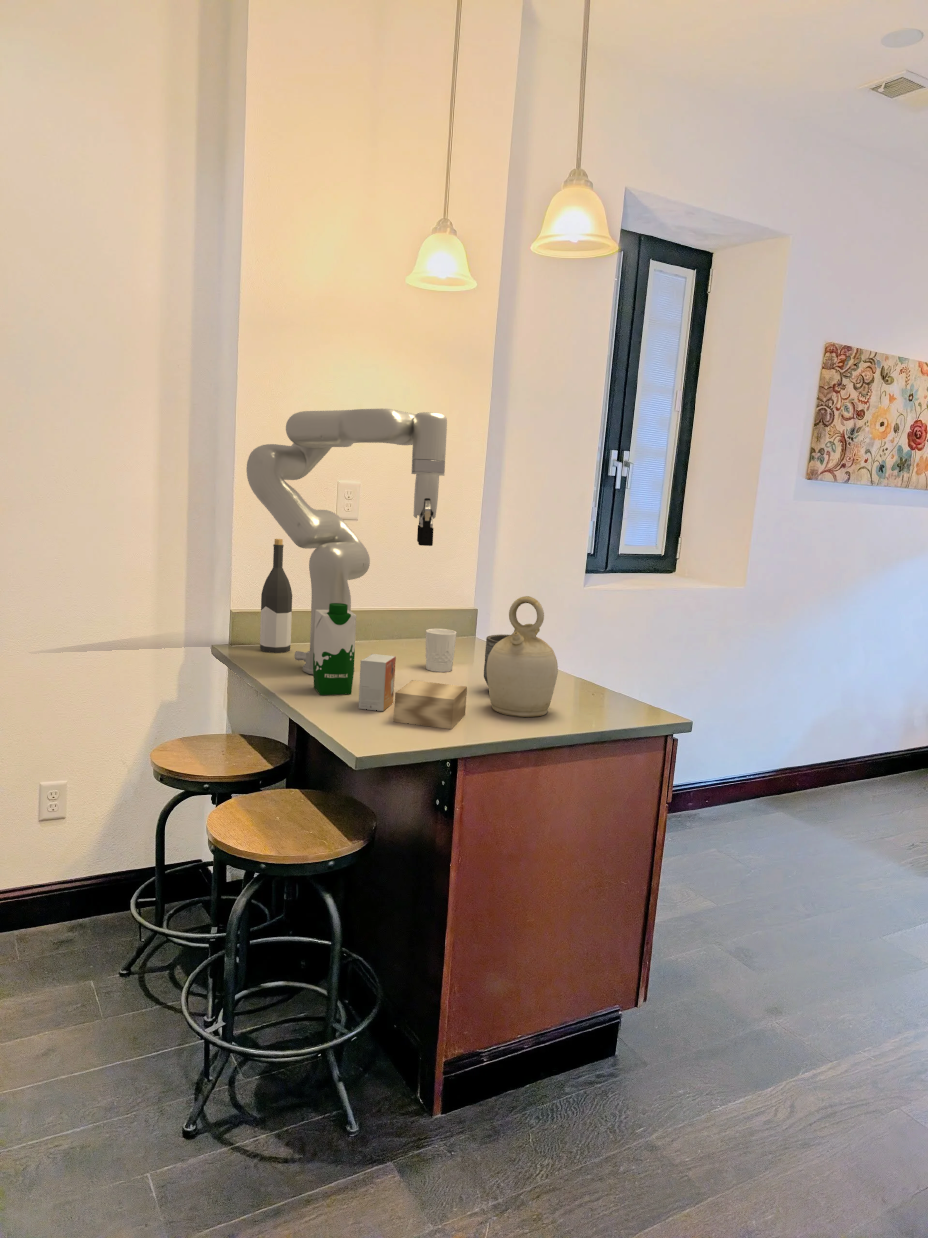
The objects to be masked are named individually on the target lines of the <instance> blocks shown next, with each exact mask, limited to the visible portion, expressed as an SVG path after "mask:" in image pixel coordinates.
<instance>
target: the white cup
mask: <svg viewBox="0 0 928 1238" xmlns="http://www.w3.org/2000/svg"><path fill="white" fill-rule="evenodd" d="M456 640H457V631H455V630H452V629H448V628H447V629H446V628H429V629H426V630H425V659H426V660H425V669H426V670H427V671H430V672H436V673H447V672H451V671H452V670H453V665H454V662H453V661H454V658H455V651H456V650H455V649H456Z"/></svg>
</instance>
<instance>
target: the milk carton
mask: <svg viewBox="0 0 928 1238" xmlns="http://www.w3.org/2000/svg"><path fill="white" fill-rule="evenodd" d="M314 627H315V630H314V653H313V674H312V675H313V688H314V689H315V690H316V692H317V693H318V694H319V695H320V696H330V695H331V696H334V695H335V696H336V695H352V692H353V691H352V690H353V681H354V674H355V673H354V672H355V652H356V634H357V633H356V632H357V631H356V628H357V614H355V613H354V612H353V611H349V610H348V605H347V604H343V603H331V604H329V610H315V625H314Z"/></svg>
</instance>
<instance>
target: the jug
mask: <svg viewBox="0 0 928 1238" xmlns="http://www.w3.org/2000/svg"><path fill="white" fill-rule="evenodd" d="M523 604H529V605H531V606H532V607H533V608H534V609H535V613H536V620H535V622H534V623H526V624H525V623H524V624H522V623H520V622H519V620H518V618H517V612H518V609H519V607H521V605H523ZM508 618H509V622H510V624H511V626H512V627H513V628H514V629H513V631H512V634H509V635H510V636H507V637H505V638H504V639H502V640H500V641H499V642H498V643H496V644H495V645H494V647H493V648H492V650H491V652H490V654H489V656H488V660H487V667H486V669H487V680H488V685H487V687H488V695H489V700H490V704H491V708H492V710H493V711H495V712H497V713H499V714H501V715H504V716H509V717H517V718H518V717H519V718H536V717H541V716H545V715H547V713H548V710H549V707H550V705H551V702H552V698H553V695H554V691H555V687H556V683H557V679H558V674H559V672H558V671H559V669H558V667H559V666H558V659H557V656H556V654H555V652H554V649H553V648H552V647H551V646H550V645H549V644H548V643H547V642H546V641H545V640H543V639H542V638H541V637H538V636H537V635H538V633H539V632H540V628H541V626H542V625H543V623H544V620H545V612H544V607H543V605H542V604H541V603H540V601H539V600H537V599H536V598H535V597H533V596H528V595H525V596H520V597H519V598H516V599H515V600H514V601H513V603H512V604H511V606H510V608H509V611H508Z"/></svg>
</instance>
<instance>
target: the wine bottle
mask: <svg viewBox="0 0 928 1238" xmlns="http://www.w3.org/2000/svg"><path fill="white" fill-rule="evenodd" d="M283 540H284V539H283V538H274V542H273V545H272V546H273V553H272V554H273V557H272V560H273V561H272V562H273V563H272V568H271V570H270V572H269V574H268V575H267V577H266V579H265V581H264V584H263V586H262V591H261V600H260V602H261V603H260V628H259V629H260V630H259V631H260V633H259V650H260V651H262V652H265V653H271V654H281V653H282V654H283V653H287V652H290V651H291V643H292V638H291V637H292V615H293V614H292V613H293V612H292V611H293V590H292V587H291V584H290V583H291V582H290V580H289V578H288V576H287V574H286V572H285V570H284V568H283V564H284V563H283V561H284V560H283V559H284V558H283V557H284V544H283V543H284V541H283Z"/></svg>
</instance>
